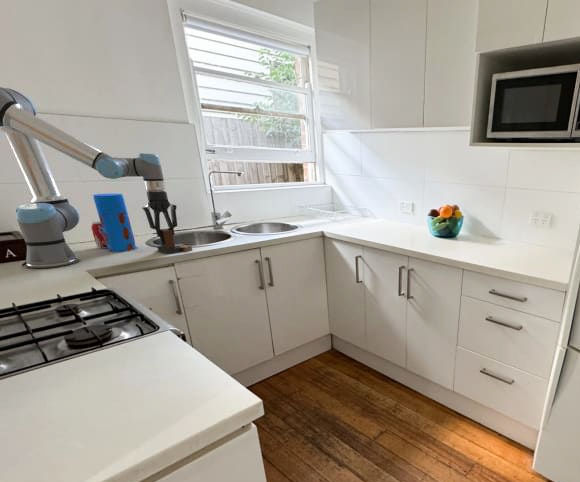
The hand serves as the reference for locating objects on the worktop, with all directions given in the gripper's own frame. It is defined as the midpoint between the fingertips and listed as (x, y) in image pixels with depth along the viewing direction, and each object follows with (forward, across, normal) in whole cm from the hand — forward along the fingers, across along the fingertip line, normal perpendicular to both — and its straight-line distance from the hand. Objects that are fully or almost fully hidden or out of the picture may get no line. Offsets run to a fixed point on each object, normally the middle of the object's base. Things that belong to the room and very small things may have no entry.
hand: (167, 243), depth 178 cm
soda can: (+4, -17, +29) cm, 34 cm away
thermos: (+4, -13, +20) cm, 24 cm away
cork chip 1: (+4, +5, +2) cm, 6 cm away
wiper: (+4, 0, 0) cm, 4 cm away
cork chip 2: (+4, +6, -4) cm, 8 cm away
